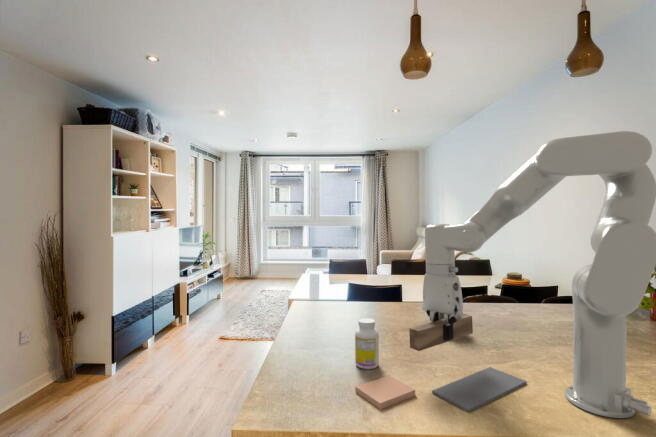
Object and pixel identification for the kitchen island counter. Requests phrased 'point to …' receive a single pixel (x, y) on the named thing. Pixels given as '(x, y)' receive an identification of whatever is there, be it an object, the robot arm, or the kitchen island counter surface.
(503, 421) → the kitchen island counter surface
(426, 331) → the walnut bar
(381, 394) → the terracotta tile
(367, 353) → the supplement bottle
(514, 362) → the kitchen island counter surface
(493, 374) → the rubber mat
